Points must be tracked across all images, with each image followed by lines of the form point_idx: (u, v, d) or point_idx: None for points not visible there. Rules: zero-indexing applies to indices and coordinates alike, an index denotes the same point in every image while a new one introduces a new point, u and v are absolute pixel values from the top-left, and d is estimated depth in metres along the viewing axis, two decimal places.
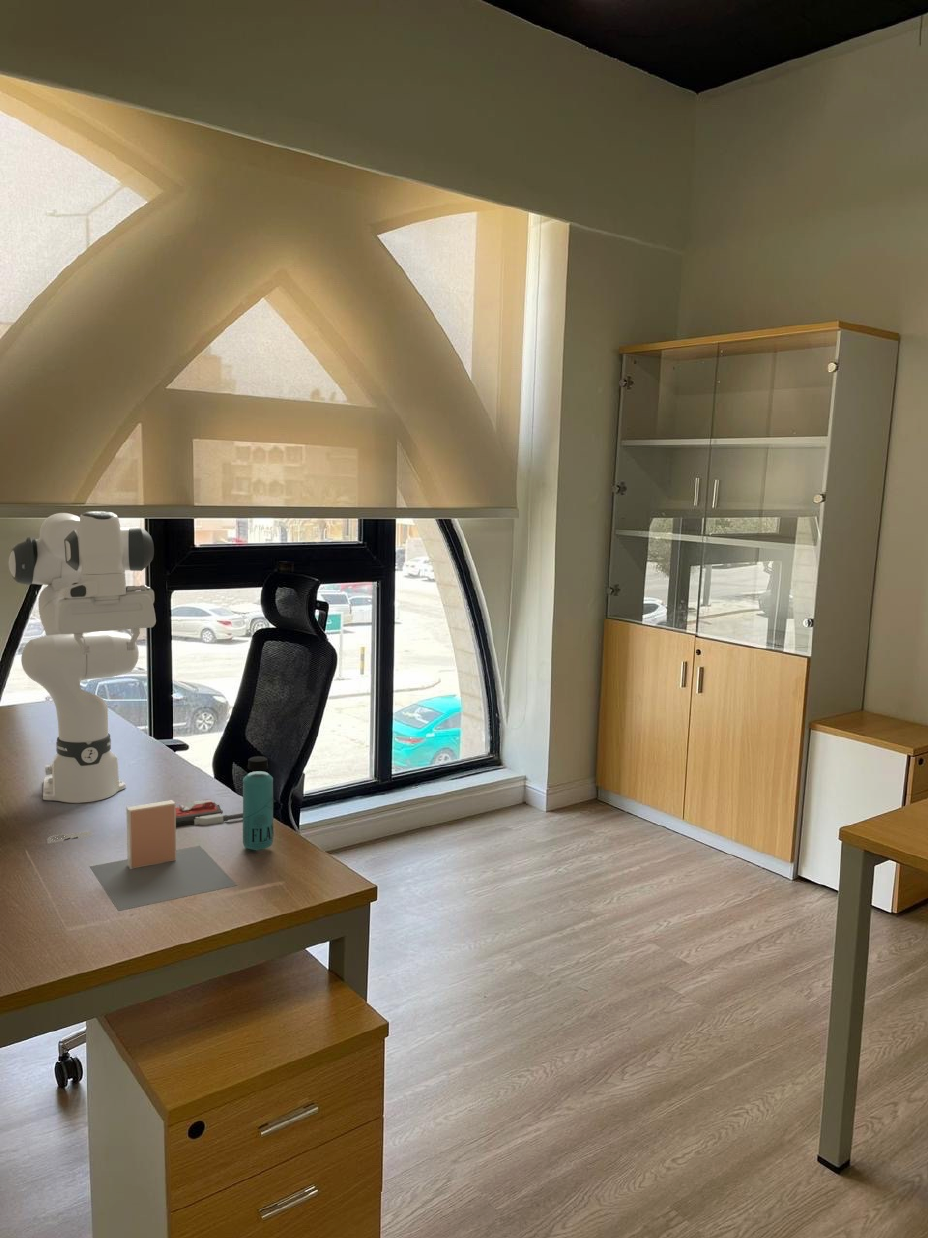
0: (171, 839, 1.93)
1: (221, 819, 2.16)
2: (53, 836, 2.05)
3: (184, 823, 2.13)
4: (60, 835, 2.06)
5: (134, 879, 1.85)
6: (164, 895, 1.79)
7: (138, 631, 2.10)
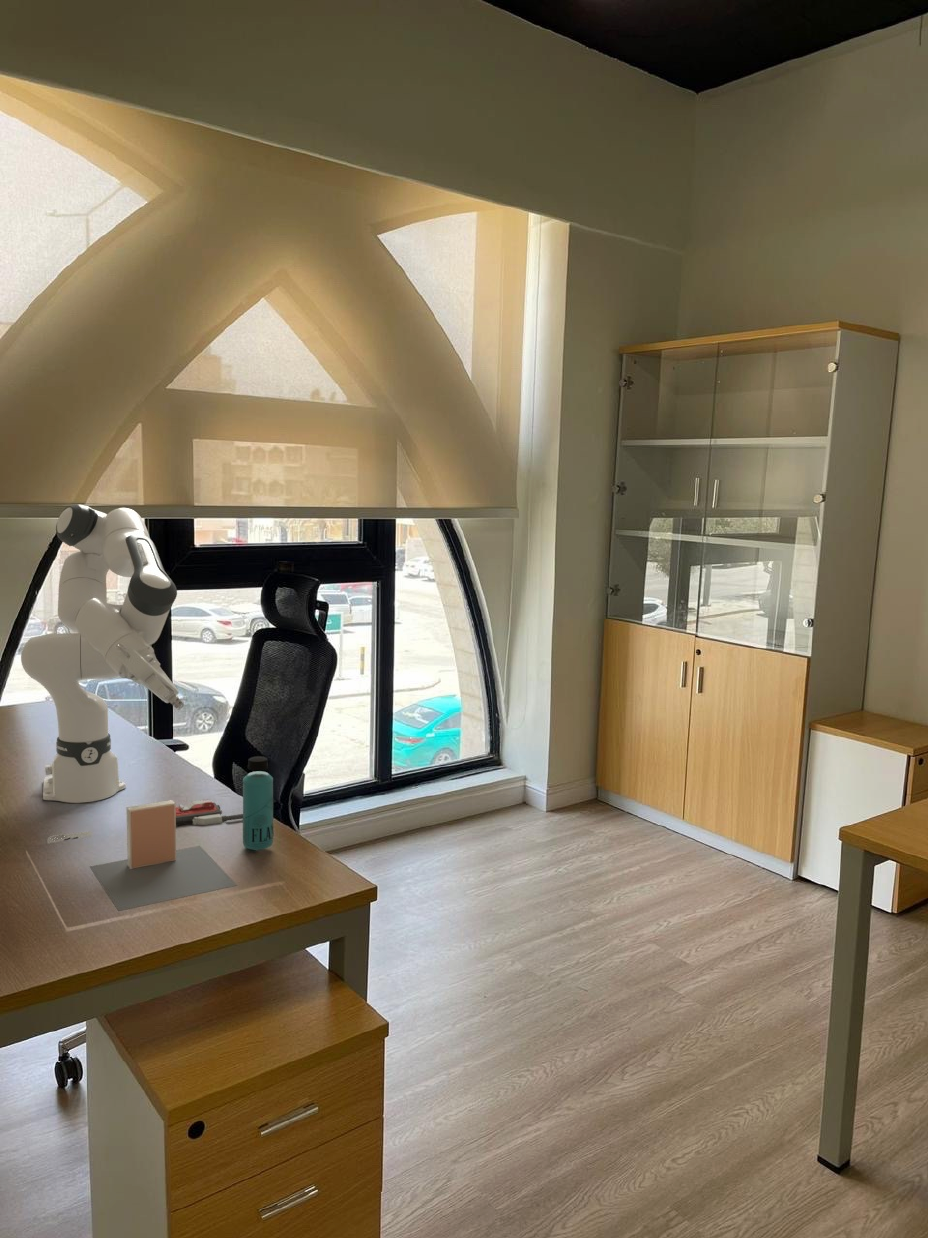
0: (171, 839, 1.93)
1: (220, 819, 2.15)
2: (53, 836, 2.05)
3: (182, 823, 2.13)
4: (60, 835, 2.06)
5: (134, 879, 1.85)
6: (164, 895, 1.79)
7: (148, 683, 1.96)
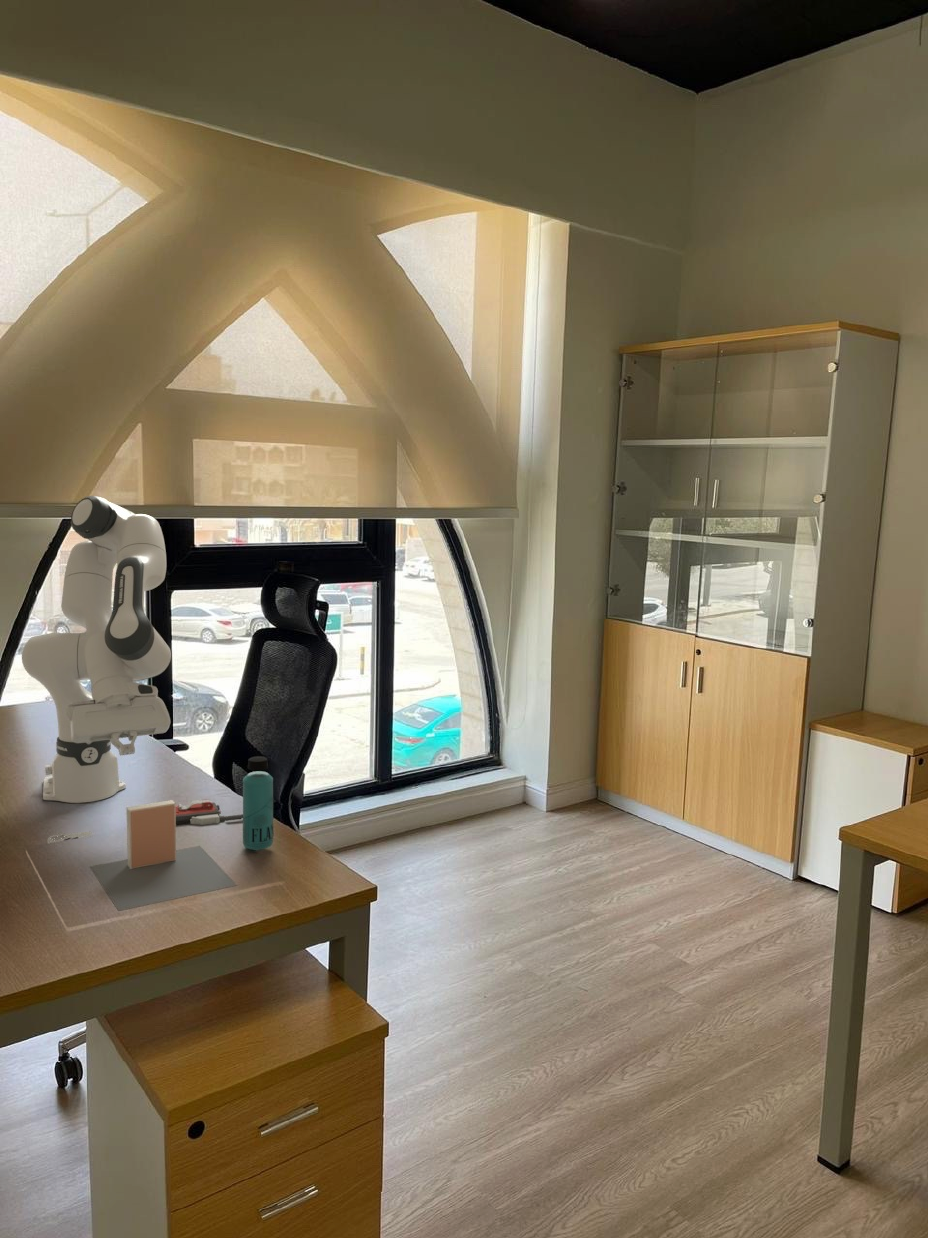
0: (171, 839, 1.93)
1: (217, 820, 2.15)
2: (53, 836, 2.05)
3: (180, 822, 2.14)
4: (60, 835, 2.06)
5: (134, 879, 1.85)
6: (164, 895, 1.79)
7: None
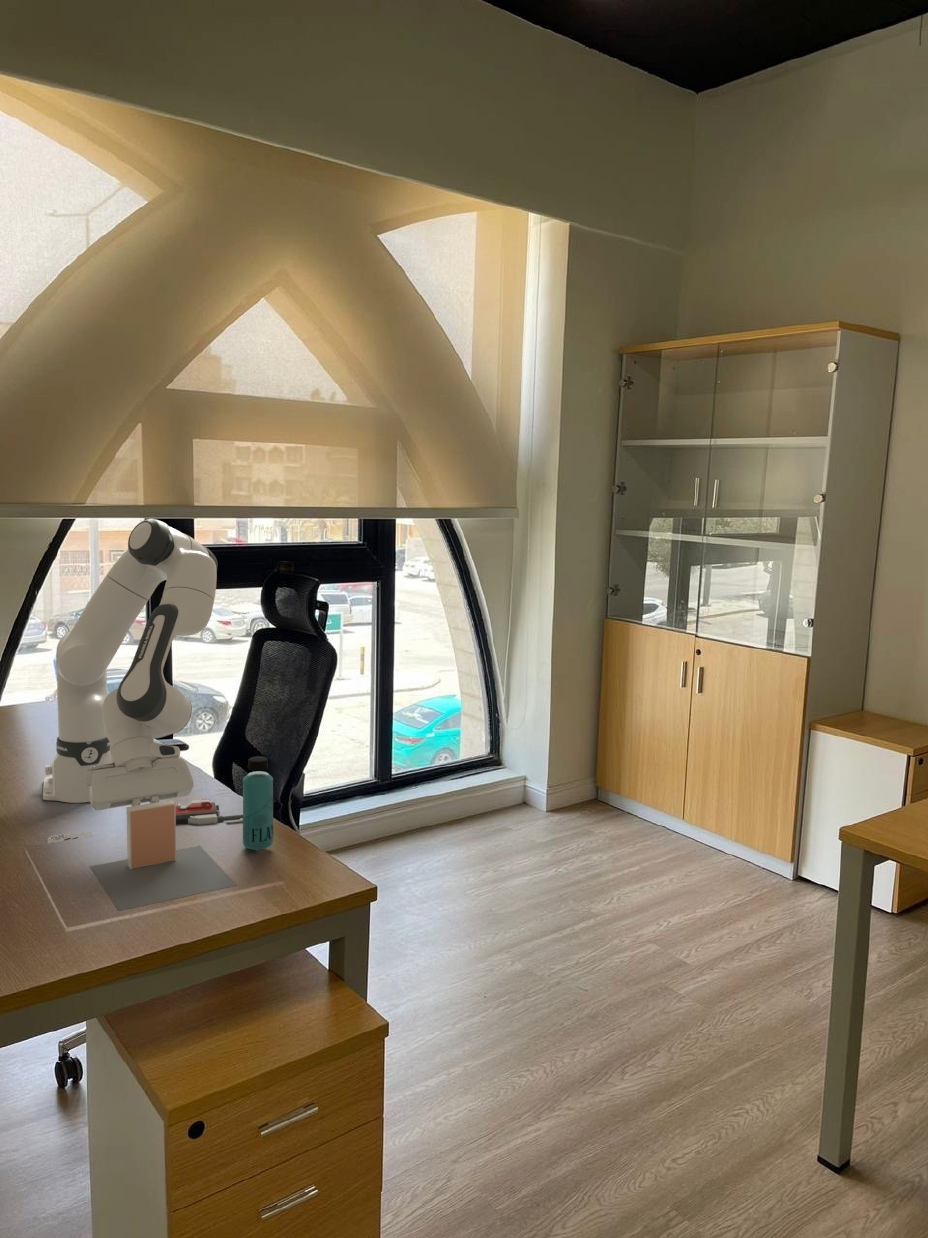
0: (171, 839, 1.93)
1: (215, 820, 2.15)
2: (53, 836, 2.05)
3: (178, 821, 2.14)
4: (60, 835, 2.06)
5: (134, 879, 1.85)
6: (164, 895, 1.79)
7: None
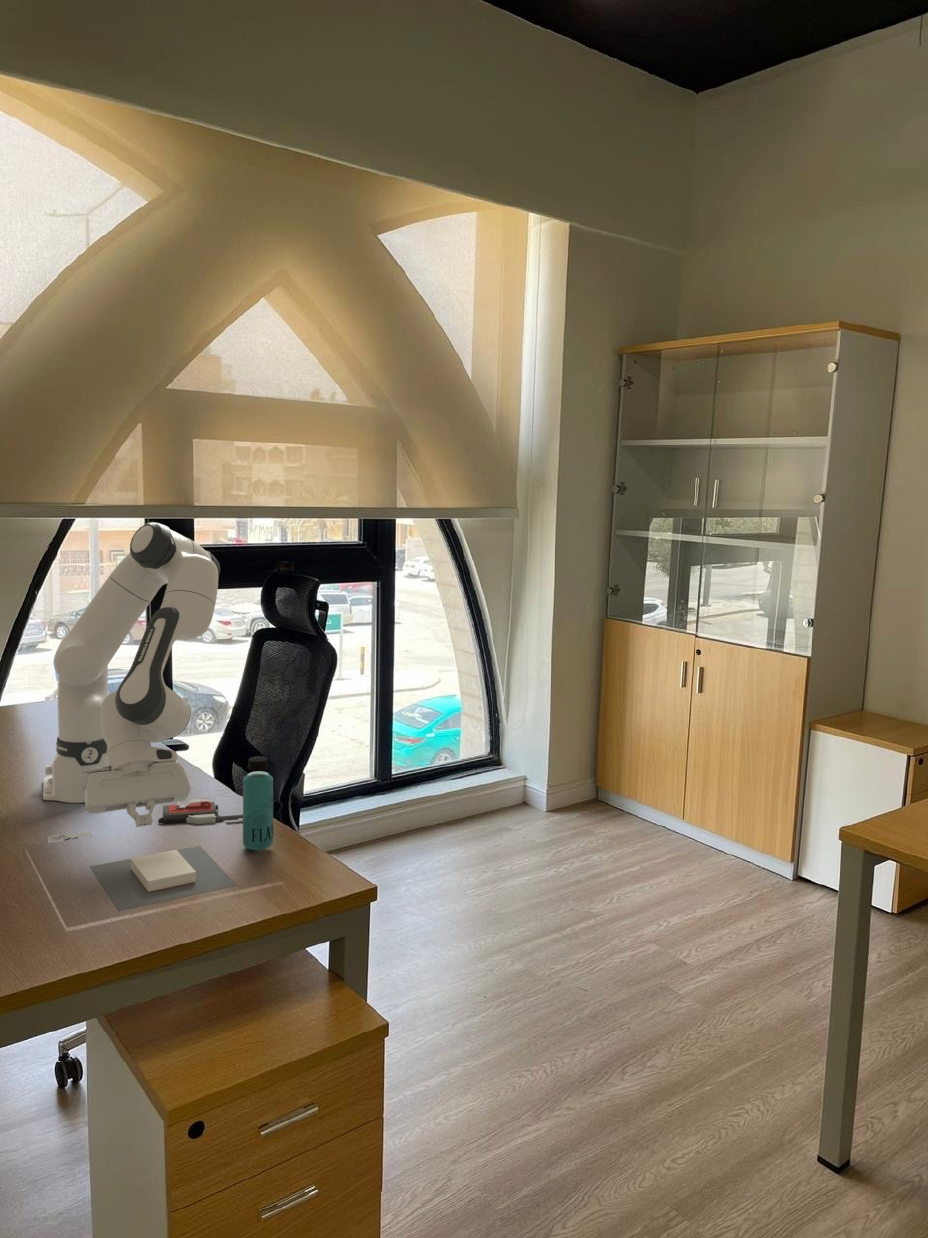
0: None
1: (213, 819, 2.15)
2: (53, 836, 2.05)
3: (176, 821, 2.14)
4: (60, 835, 2.06)
5: (134, 879, 1.85)
6: (164, 895, 1.79)
7: None
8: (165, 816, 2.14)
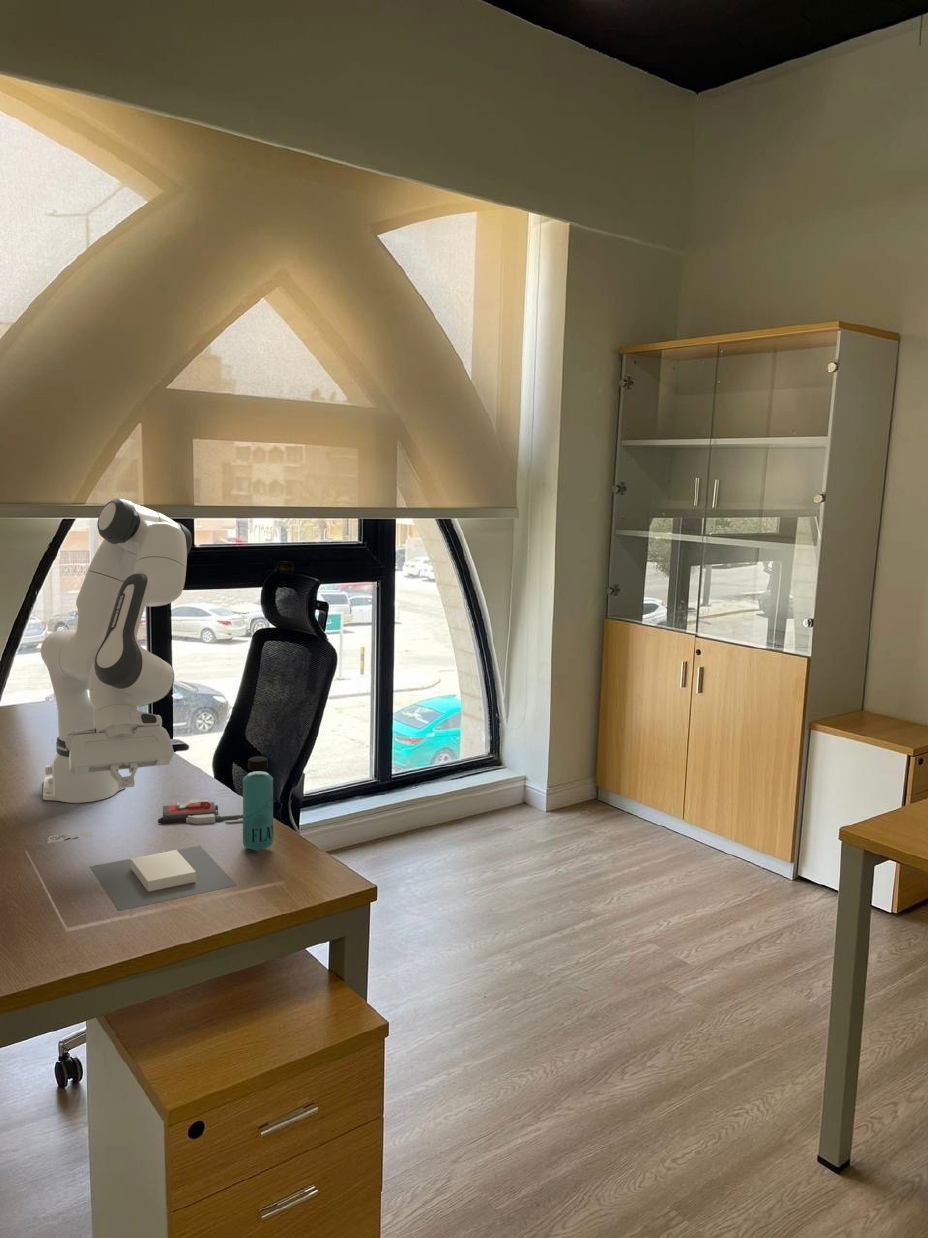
0: None
1: (212, 819, 2.15)
2: (53, 836, 2.05)
3: (176, 821, 2.15)
4: (60, 835, 2.06)
5: (134, 879, 1.85)
6: (164, 895, 1.79)
7: None
8: (165, 816, 2.14)
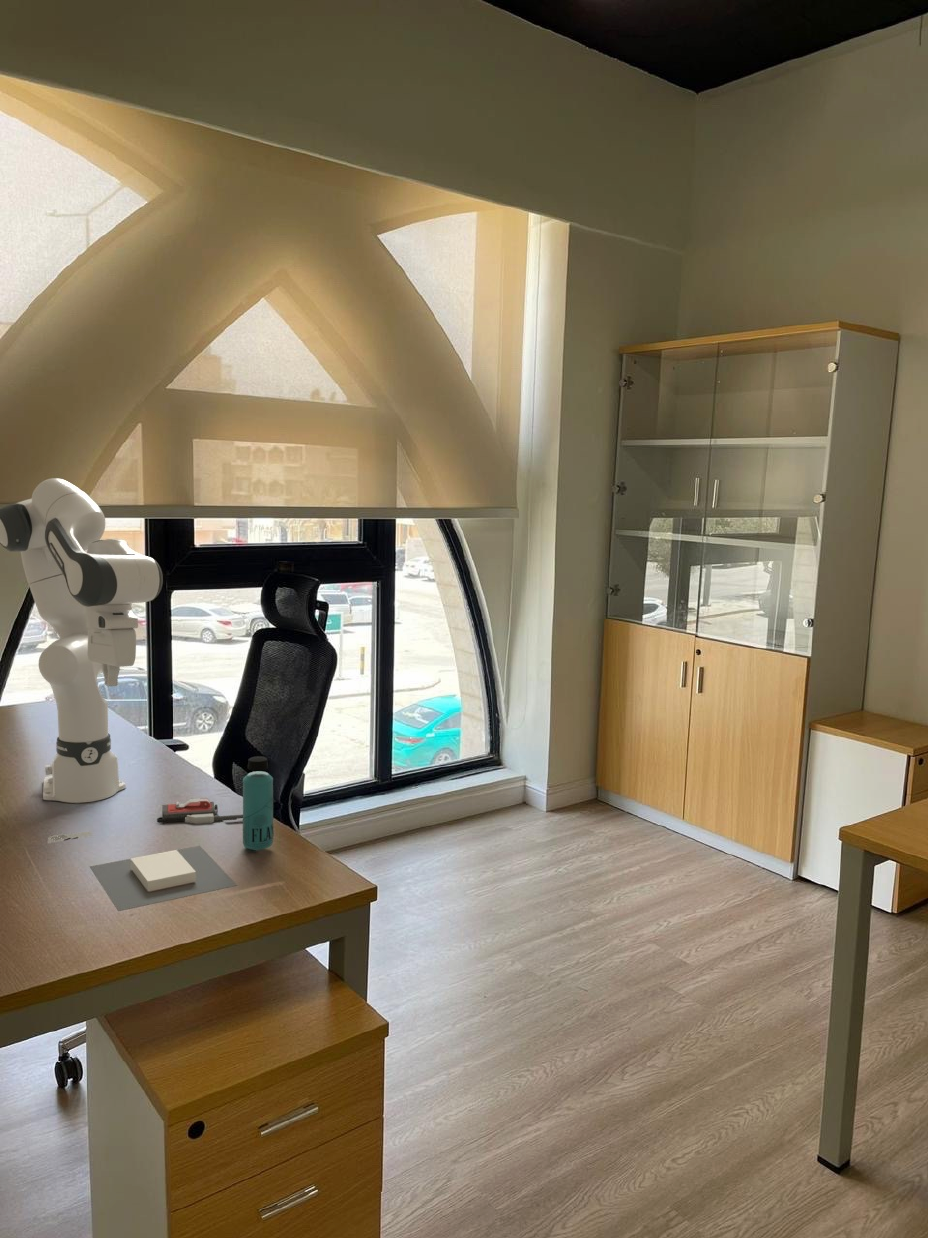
0: None
1: (211, 819, 2.15)
2: (53, 836, 2.05)
3: (175, 820, 2.15)
4: (60, 835, 2.06)
5: (134, 879, 1.85)
6: (164, 895, 1.79)
7: None
8: (164, 815, 2.15)
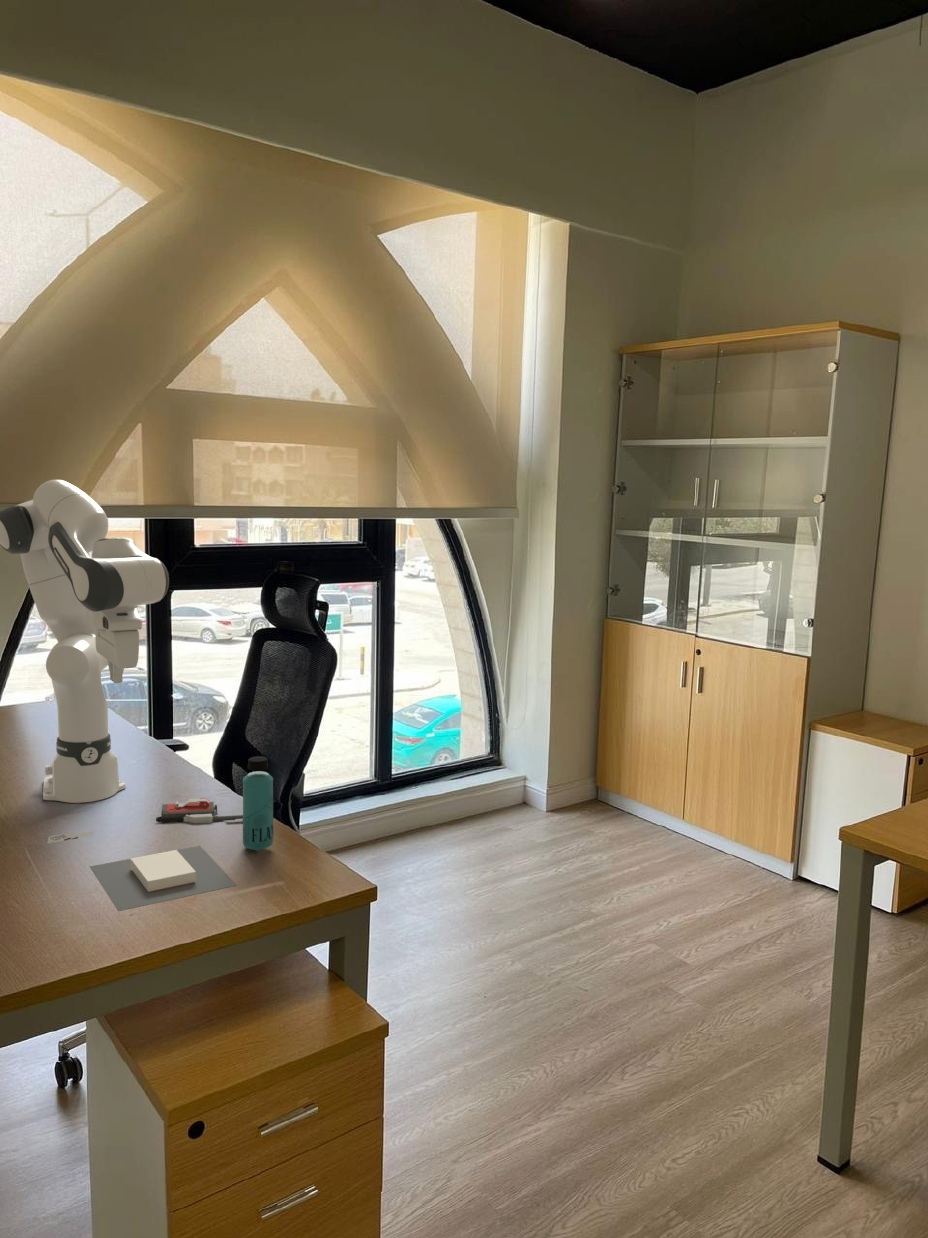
0: None
1: (210, 819, 2.15)
2: (53, 836, 2.05)
3: (174, 820, 2.15)
4: (60, 835, 2.06)
5: (134, 879, 1.85)
6: (164, 895, 1.79)
7: None
8: (163, 815, 2.15)
